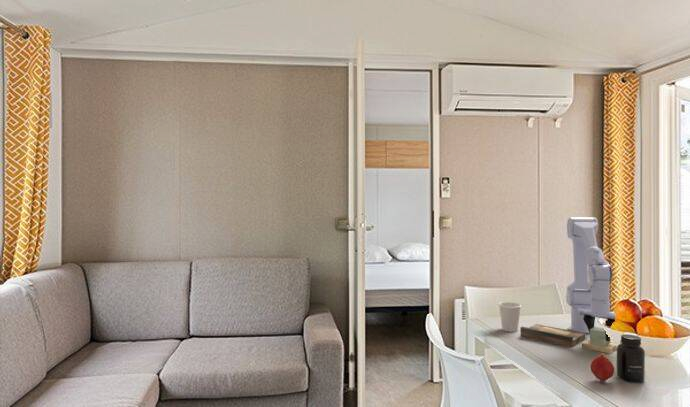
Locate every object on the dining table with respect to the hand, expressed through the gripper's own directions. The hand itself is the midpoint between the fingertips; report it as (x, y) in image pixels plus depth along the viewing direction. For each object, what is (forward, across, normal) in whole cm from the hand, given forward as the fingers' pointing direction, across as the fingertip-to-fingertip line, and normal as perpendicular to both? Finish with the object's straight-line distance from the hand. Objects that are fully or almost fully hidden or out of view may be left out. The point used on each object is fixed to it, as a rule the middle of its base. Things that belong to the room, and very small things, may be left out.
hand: (600, 339), depth 158 cm
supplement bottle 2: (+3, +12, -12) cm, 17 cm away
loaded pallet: (+3, 0, 0) cm, 3 cm away
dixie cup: (+3, -32, -1) cm, 32 cm away
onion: (+3, +10, -32) cm, 34 cm away
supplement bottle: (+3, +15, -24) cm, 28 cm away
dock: (+3, -16, 0) cm, 16 cm away
